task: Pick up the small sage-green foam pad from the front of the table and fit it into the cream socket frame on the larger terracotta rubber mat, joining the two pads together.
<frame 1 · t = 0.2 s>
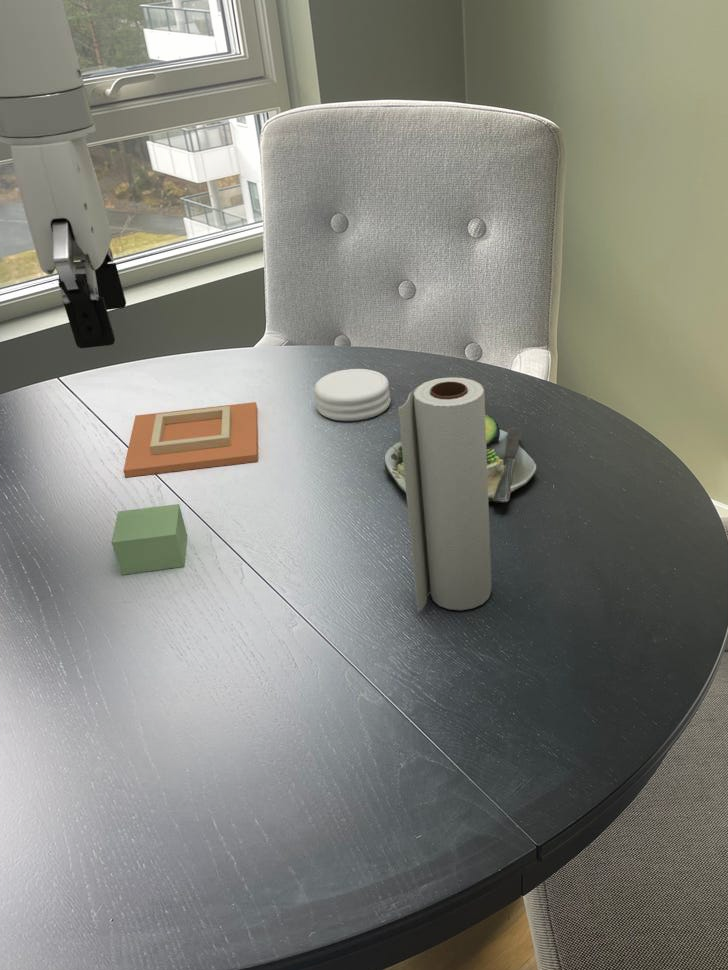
hand: (103, 326, 88), 25 cm above the table, tool pointing down, fingers open, 9 cm apart
base mat: (195, 441, 125), on the table
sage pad: (155, 554, 103), on the table
coaster: (354, 408, 131), on the table
paper towel roll: (455, 596, 96), on the table
salad plate: (461, 472, 116), on the table
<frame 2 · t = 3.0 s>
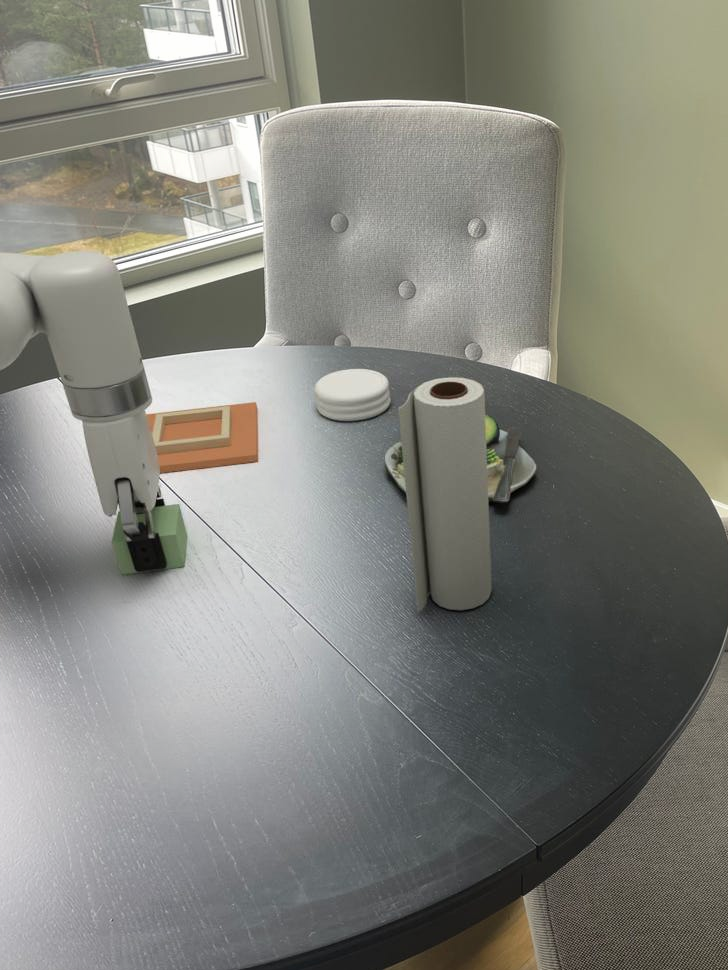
hand: (154, 549, 103), 1 cm above the table, tool pointing down, fingers closed on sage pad, 6 cm apart
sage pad: (155, 554, 103), on the table, touching gripper
everything else where it was.
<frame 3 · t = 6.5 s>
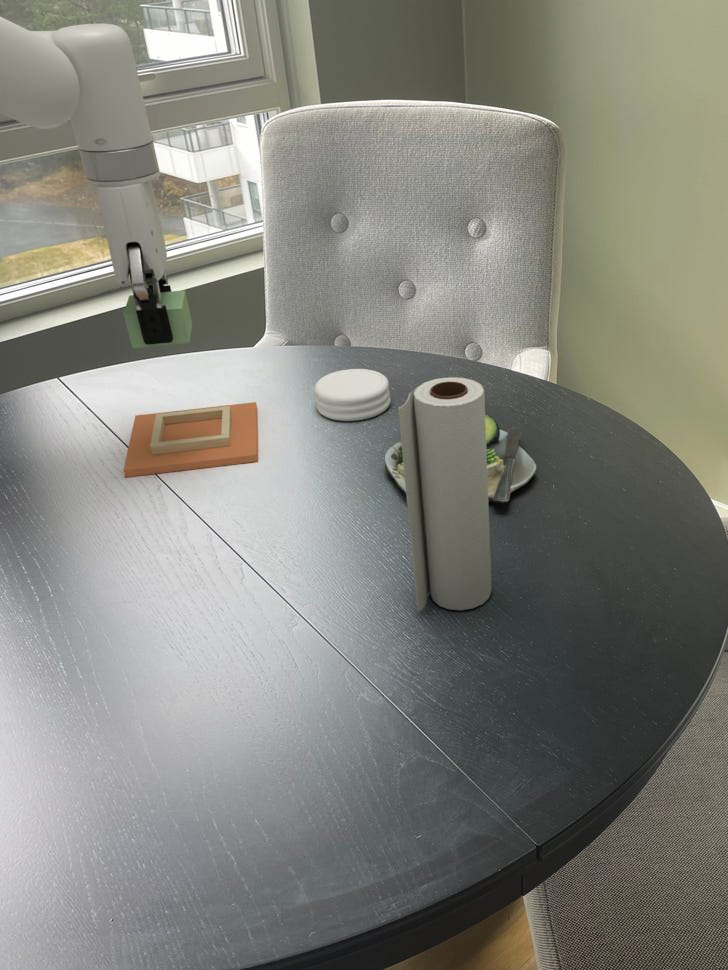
hand: (161, 330, 113), 16 cm above the table, tool pointing down, fingers closed on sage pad, 6 cm apart
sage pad: (163, 335, 113), point 15 cm above the table, touching gripper
everything else where it was.
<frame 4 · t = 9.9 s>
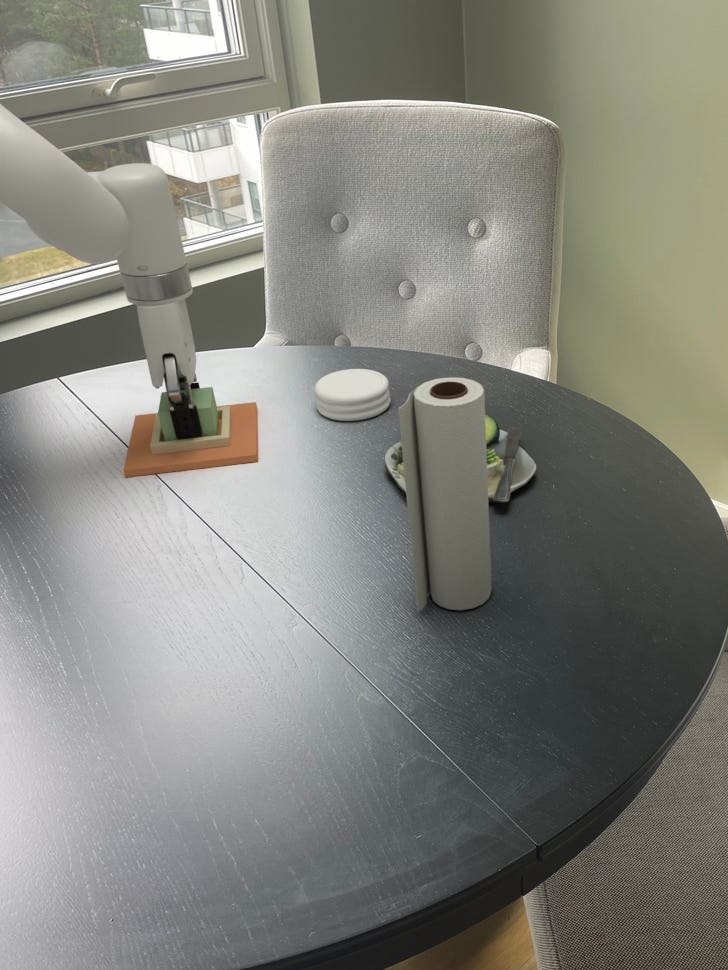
hand: (191, 424, 123), 2 cm above the table, tool pointing down, fingers closed on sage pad, 6 cm apart
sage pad: (192, 428, 124), point 2 cm above the table, touching gripper
everything else where it was.
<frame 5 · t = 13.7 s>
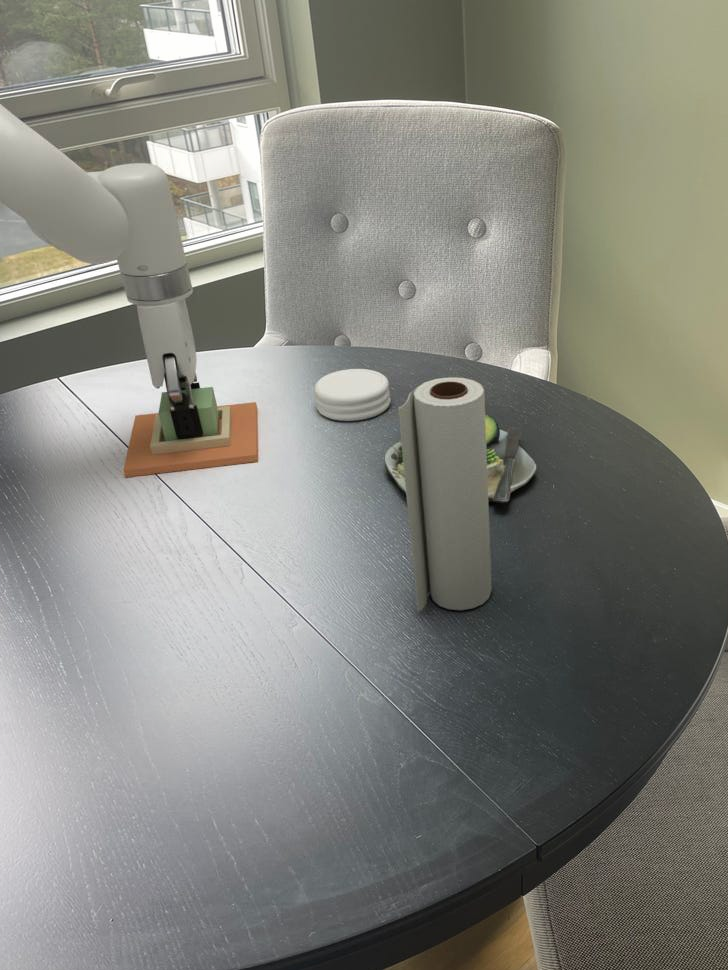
hand: (191, 424, 123), 2 cm above the table, tool pointing down, fingers closed on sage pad, 6 cm apart
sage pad: (193, 428, 124), point 2 cm above the table, touching gripper
everything else where it was.
when the fingers open (3 cm above the table, at t = 17.1 s): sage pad drops 2 cm, resting on base mat.
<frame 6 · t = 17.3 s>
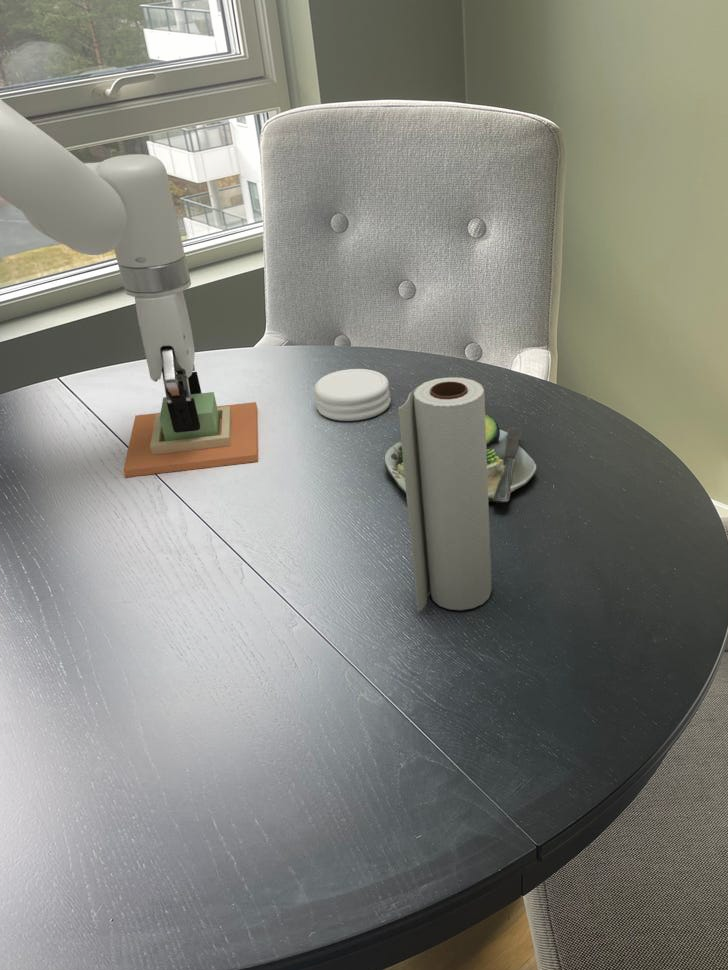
hand: (189, 415, 123), 4 cm above the table, tool pointing down, fingers open, 7 cm apart
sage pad: (194, 433, 124), point 1 cm above the table, touching base mat
everything else where it was.
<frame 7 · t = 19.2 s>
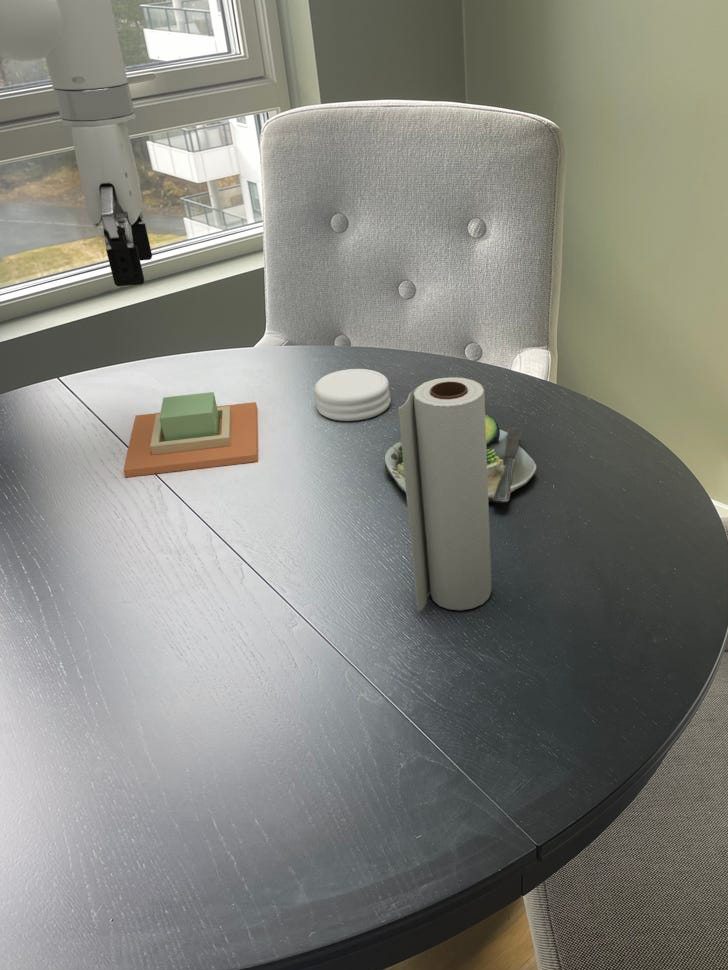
hand: (134, 271, 112), 21 cm above the table, tool pointing down, fingers open, 9 cm apart
nothing on the table moved.
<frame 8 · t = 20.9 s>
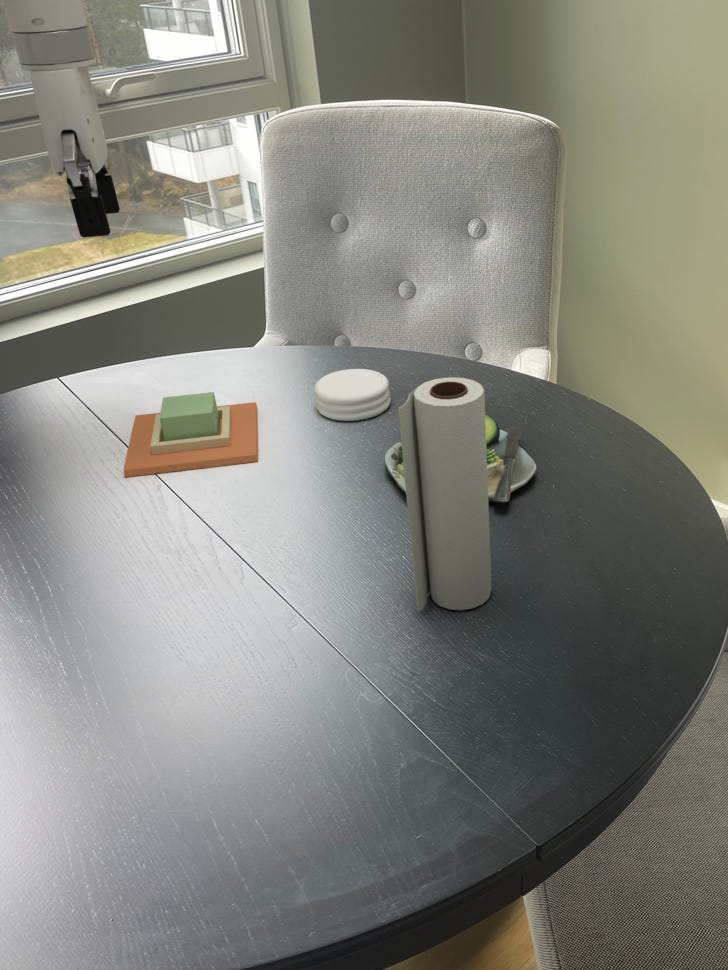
hand: (101, 224, 110), 26 cm above the table, tool pointing down, fingers open, 9 cm apart
nothing on the table moved.
at the end: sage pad 0.1 cm off-centre on the base mat, point 1.0 cm above the base mat's base; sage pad tilted 0°; the gripper is holding nothing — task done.
